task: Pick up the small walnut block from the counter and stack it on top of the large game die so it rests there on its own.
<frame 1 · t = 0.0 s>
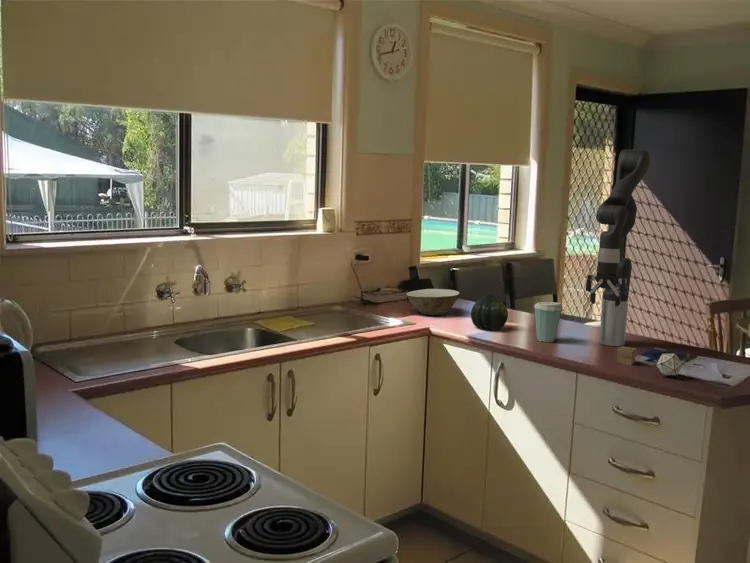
hand: (604, 304, 269), 17 cm above the countertop, tool pointing down, fingers open, 8 cm apart
bowl: (432, 313, 332), on the countertop
disposable coffee cup: (546, 340, 286), on the countertop
walnut block: (625, 362, 257), on the countertop
game die: (668, 376, 241), on the countertop
squash: (488, 328, 305), on the countertop
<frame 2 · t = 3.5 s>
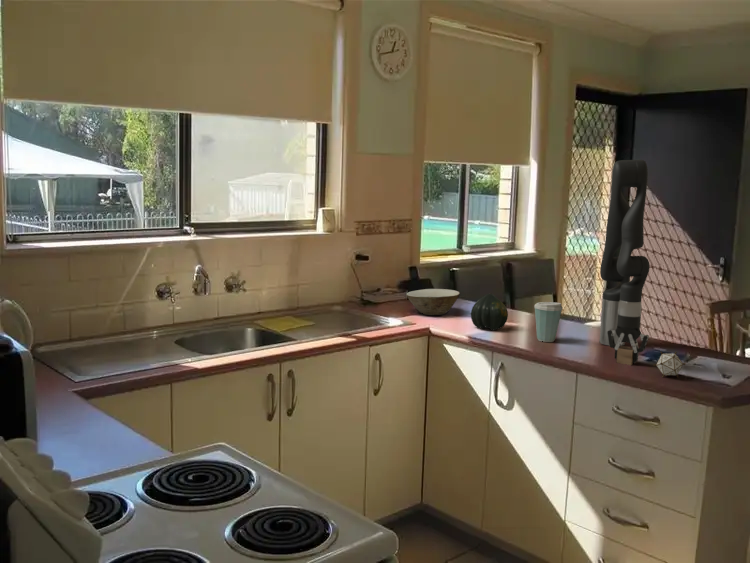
hand: (625, 361, 257), 0 cm above the countertop, tool pointing down, fingers closed on walnut block, 5 cm apart
walnut block: (625, 362, 257), on the countertop, touching gripper
everything else where it was.
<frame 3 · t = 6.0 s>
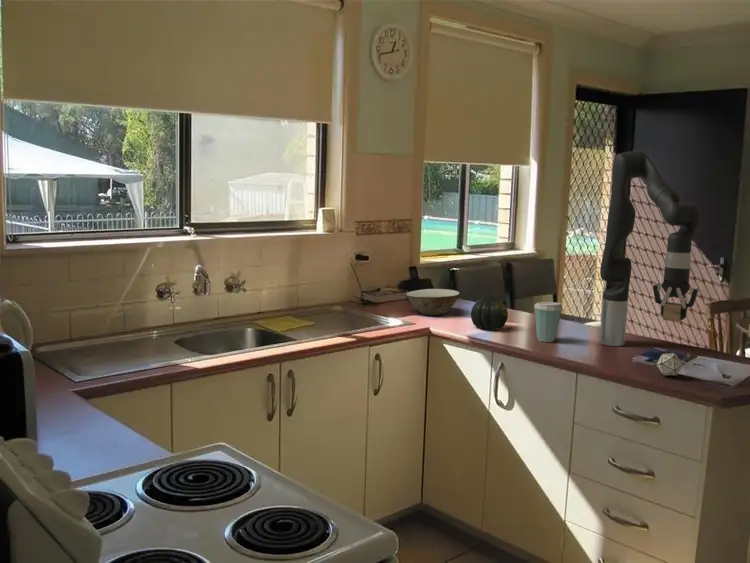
hand: (673, 317, 238), 19 cm above the countertop, tool pointing down, fingers closed on walnut block, 5 cm apart
walnut block: (672, 319, 238), point 19 cm above the countertop, touching gripper
everything else where it was.
when the fingers open (9 cm above the countertop, at t = 8.6 s): walnut block stays where it is, resting on game die.
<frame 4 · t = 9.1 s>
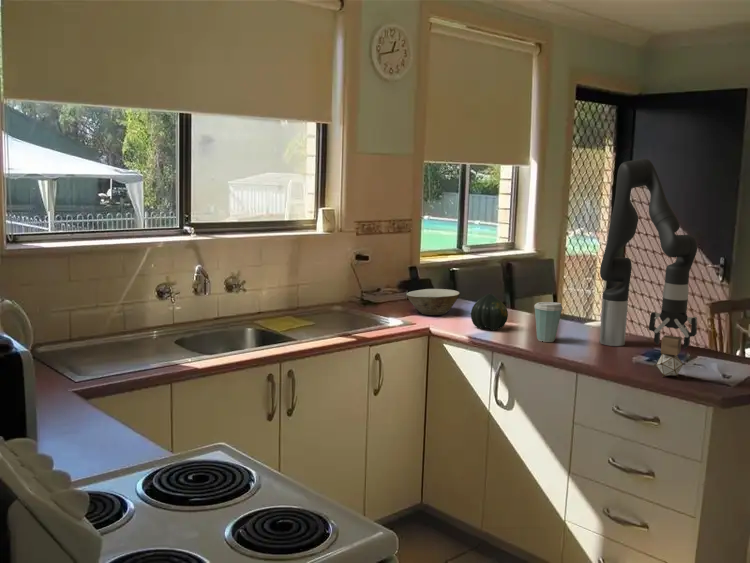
hand: (671, 346, 239), 10 cm above the countertop, tool pointing down, fingers open, 8 cm apart
walnut block: (670, 352, 240), point 8 cm above the countertop, touching game die
game die: (668, 376, 241), on the countertop, touching walnut block
everything else where it was.
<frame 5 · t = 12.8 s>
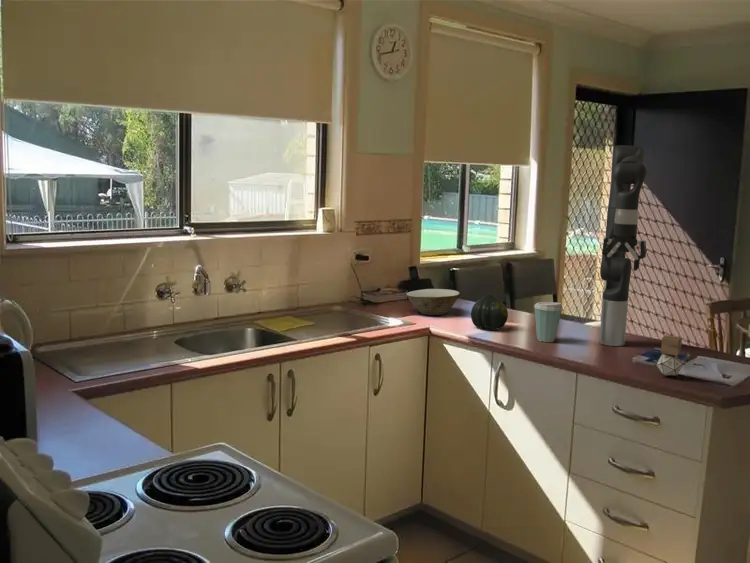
hand: (622, 269, 255), 32 cm above the countertop, tool pointing down, fingers open, 8 cm apart
nothing on the countertop moved.
at the end: walnut block inside the target area on the game die (0.1 cm from its centre), point 8.2 cm above the game die's base; walnut block touching game die; the gripper is holding nothing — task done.
